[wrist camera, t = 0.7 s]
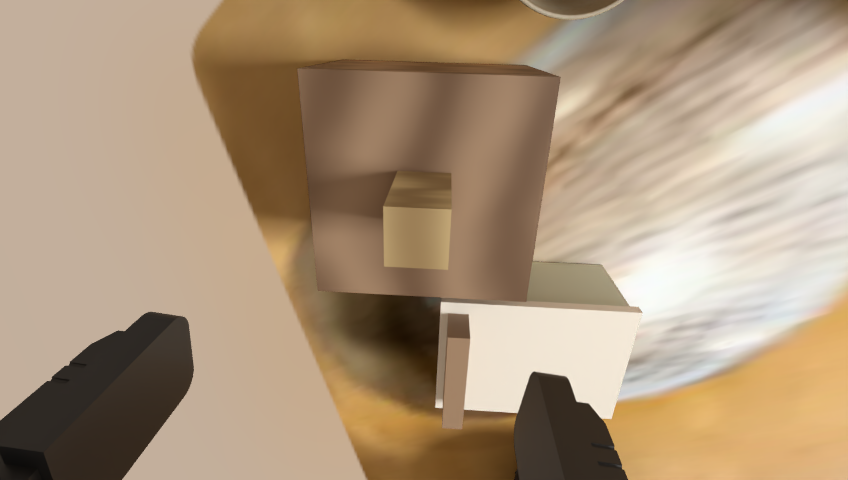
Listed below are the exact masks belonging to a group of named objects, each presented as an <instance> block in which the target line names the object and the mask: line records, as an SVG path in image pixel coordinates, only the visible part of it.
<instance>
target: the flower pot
mask: <svg viewBox="0 0 848 480" xmlns="http://www.w3.org/2000/svg"><path fill="white" fill-rule="evenodd" d="M520 1H521V2H522V3H523V4H524V5H526V6H527V7H529V8H530V9H532V10H534V11H536V12H538V13H540V14H542V15H545V16H548V17H552V18H556V19H564V20H576V19H584V18H589V17H592V16H595V15H599V14H601V13H603V12H606V11H608V10H610V9H612V8H614V7H615V6H617V5H619V4H620V3H621V2H623V1H624V0H520Z"/></svg>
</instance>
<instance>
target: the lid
mask: <svg viewBox="0 0 848 480" xmlns="http://www.w3.org/2000/svg"><path fill="white" fill-rule="evenodd" d="M641 317H642V311H641V310H640V309H639V307H630V306H611V305H592V304H574V303H555V302H537V301H526V302H516V301H497V300H479V299H460V298H442V297H441V309H440V329H439V348H438V367H437V386H436V407H435V408H443V414H442V428H450V429H462V425H463V414H464V410H480V411H495V412H511V413H518V411H519V408H520V405H521V402H522V398H523V395H524V392H525V389H526V386H527V383H528V380H529V377H530V375H531V373H532V372H534V371H535V372H541V373H548V374H554V375H561V376H566V377H567V378H568V379H569V381H570V384H571V387H572V390H573V393H574V396H575V399H576V401H577V402H582V403H589V404H590V406H591V407H592V408H593V409H594V410H595V412H596V413H597V414H598V415H599V417H600V418H604V419H612V415H613V412H614V408H615V405H616V402H617V398H618V395H619V391H620V388H621V385H622V381H623V378H624V374H625V371H626V368H627V364H628V361H629V357H630V354H631V351H632V347H633V344H634V340H635V337H636V334H637V330H638V327H639V323H640V320H641Z"/></svg>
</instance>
